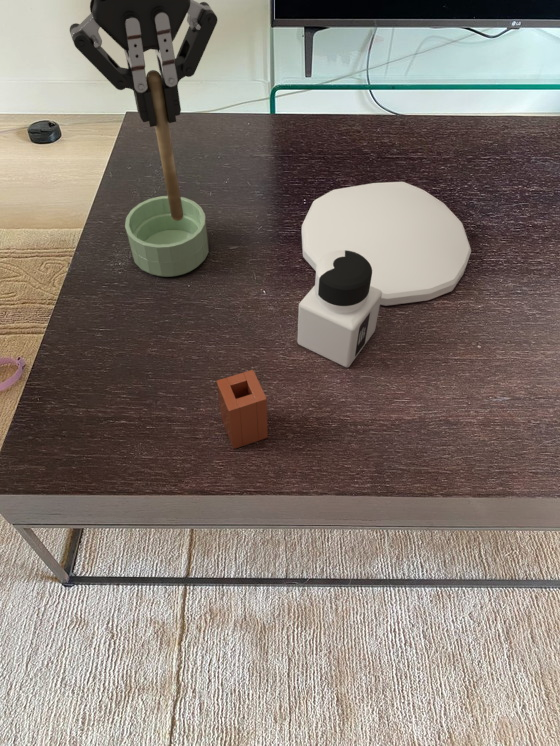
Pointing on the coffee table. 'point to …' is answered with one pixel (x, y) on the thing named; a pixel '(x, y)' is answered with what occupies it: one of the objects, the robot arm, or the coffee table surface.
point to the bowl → (167, 237)
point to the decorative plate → (391, 238)
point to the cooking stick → (165, 144)
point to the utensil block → (243, 408)
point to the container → (339, 308)
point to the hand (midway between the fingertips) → (160, 120)
